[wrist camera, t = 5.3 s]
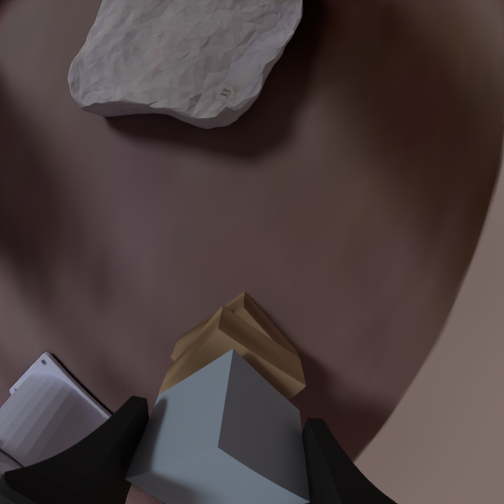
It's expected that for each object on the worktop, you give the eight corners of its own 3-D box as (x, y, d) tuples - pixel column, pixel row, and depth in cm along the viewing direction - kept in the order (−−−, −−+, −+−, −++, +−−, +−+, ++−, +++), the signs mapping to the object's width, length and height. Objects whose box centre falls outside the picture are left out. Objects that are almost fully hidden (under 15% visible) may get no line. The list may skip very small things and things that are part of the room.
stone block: (299, -17, 13) (148, -49, 11) (328, -52, 9) (139, -90, 7) (249, 147, 17) (83, 114, 14) (268, 149, 12) (47, 107, 10)
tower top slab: (241, 411, 16) (239, 439, 14) (168, 367, 16) (158, 393, 13) (300, 358, 15) (306, 385, 13) (222, 305, 15) (217, 328, 12)
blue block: (225, 446, 13) (214, 527, 9) (159, 394, 13) (124, 478, 8) (299, 410, 12) (310, 501, 8) (233, 348, 12) (217, 447, 7)
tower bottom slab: (233, 388, 19) (231, 411, 16) (179, 336, 18) (170, 357, 15) (297, 349, 18) (302, 371, 16) (244, 289, 17) (243, 307, 15)
